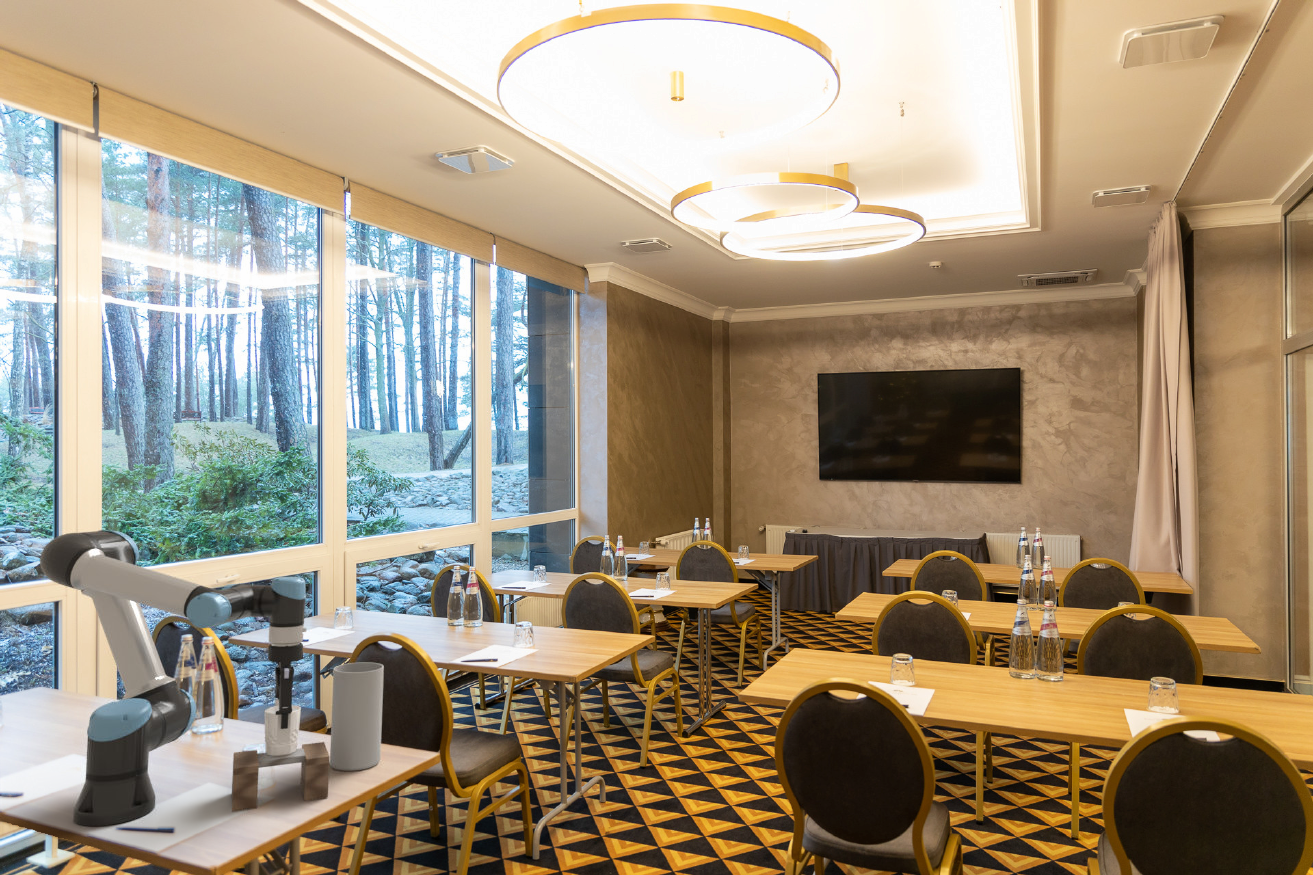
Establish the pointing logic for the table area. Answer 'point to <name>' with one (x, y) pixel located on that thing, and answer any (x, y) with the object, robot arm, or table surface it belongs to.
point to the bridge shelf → (307, 776)
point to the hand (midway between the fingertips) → (281, 733)
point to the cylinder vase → (356, 716)
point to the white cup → (271, 732)
